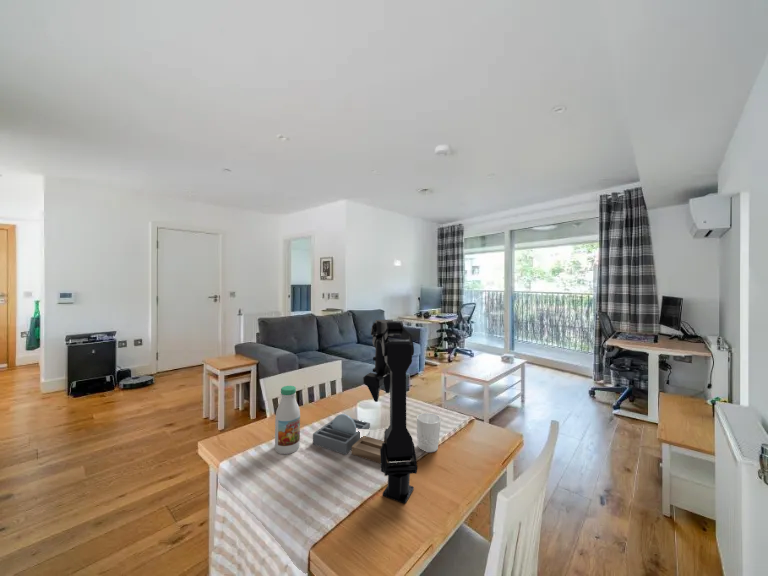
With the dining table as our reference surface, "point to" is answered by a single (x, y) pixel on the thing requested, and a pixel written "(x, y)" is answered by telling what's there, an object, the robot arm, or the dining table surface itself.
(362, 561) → the dining table surface
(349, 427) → the plate
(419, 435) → the white cup
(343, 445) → the dish rack
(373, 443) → the plate stand
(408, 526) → the dining table surface
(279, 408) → the milk bottle
